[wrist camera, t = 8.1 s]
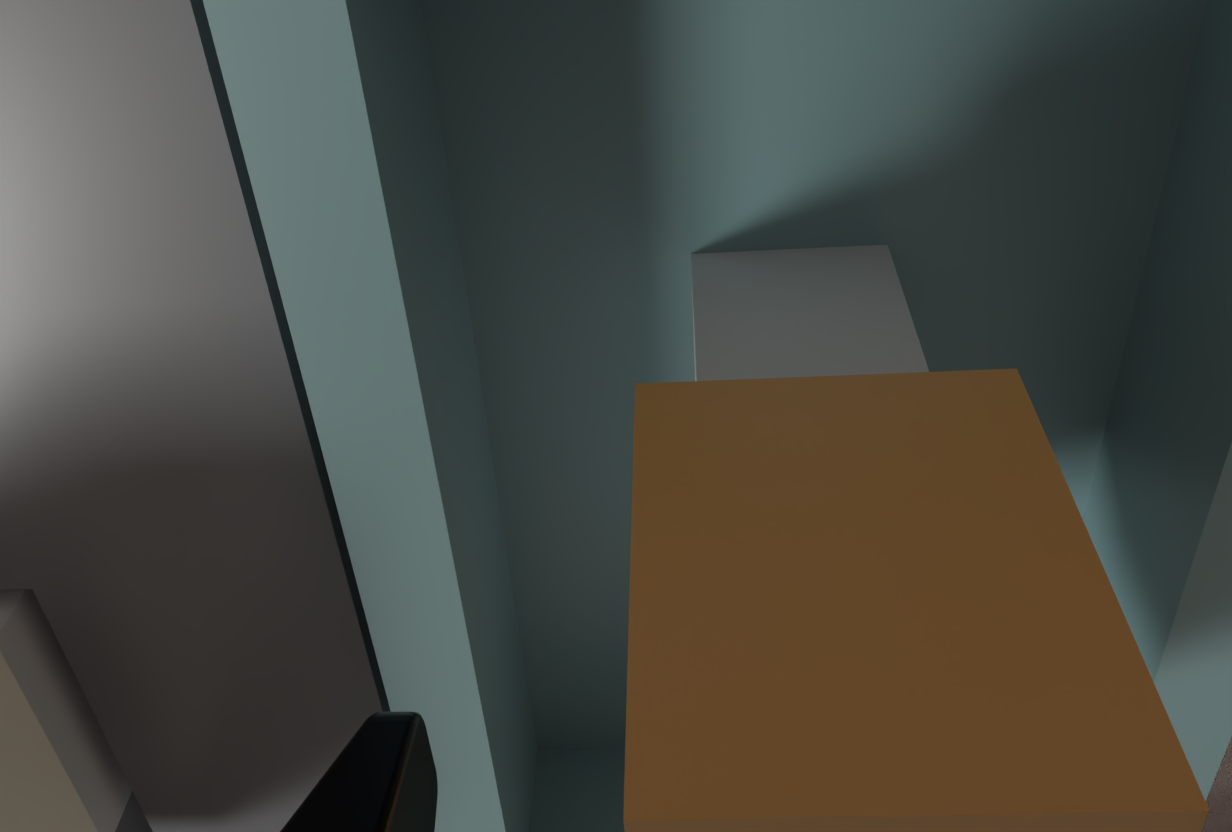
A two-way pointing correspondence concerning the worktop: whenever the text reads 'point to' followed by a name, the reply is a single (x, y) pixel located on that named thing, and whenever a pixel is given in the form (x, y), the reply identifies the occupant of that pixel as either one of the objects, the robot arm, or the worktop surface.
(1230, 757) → the worktop surface
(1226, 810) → the worktop surface
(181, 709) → the block
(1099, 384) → the parts tray
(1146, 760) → the block
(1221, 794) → the worktop surface
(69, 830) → the block
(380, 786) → the robot arm
